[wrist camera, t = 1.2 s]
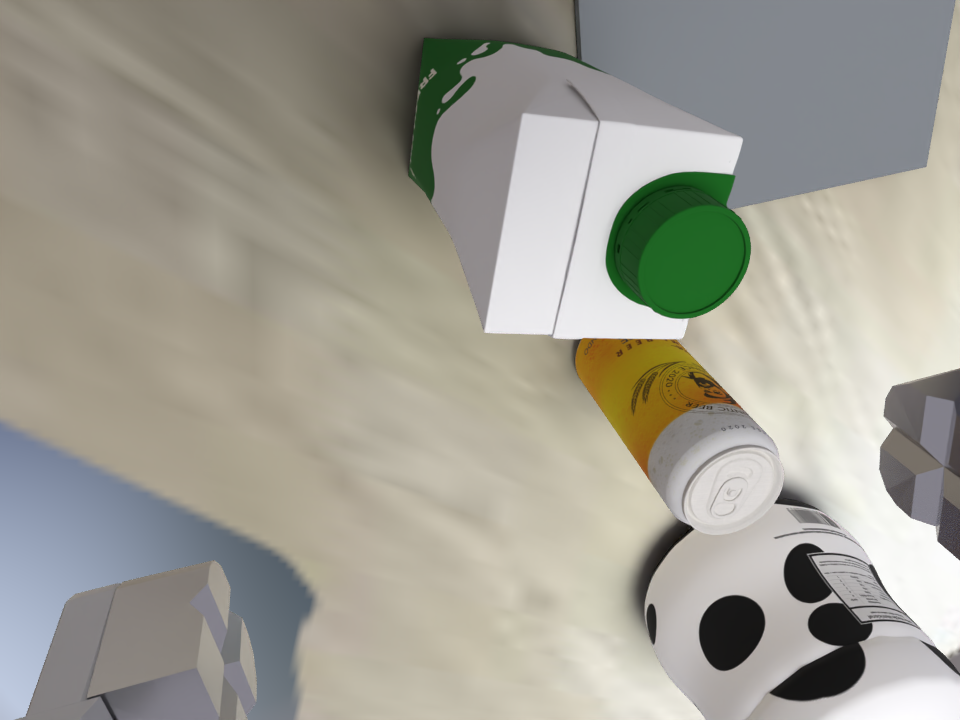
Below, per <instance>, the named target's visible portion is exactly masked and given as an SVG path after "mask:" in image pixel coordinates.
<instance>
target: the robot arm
mask: <svg viewBox="0 0 960 720" xmlns="http://www.w3.org/2000/svg"><path fill="white" fill-rule="evenodd" d="M884 417H885V418H886V420H887V421H888V422H889V423H890V425H891V426H892V427H893V429H892V431H891V432H890V434H889V435H888V437H887V438H886V439H885V441H884V442H883V444H882V445H881V447H880V467H879V470H880V473H881V476H882V479H883V482H884V485H885V488H886V490H887V492H888V493H889V495H890V496H891V498H892V499H893V501H894V502H895V504H896V505H897V506H898V507H899V508H900V509H901V510H903V511H904V512H905V513H906V514H907V515H908V516H909V517H910V518H912V519H915V520H918V521H921V522H924V523H927V524H930V525H933V526H936V533H937V541H938V542H939V543H940V544H941V545H942V546H944V547H945V548H946V549H947V550H948V551H949V552H951V553H952V554H953V555H954V556H955V557H956V558H958V559H959V560H960V368H959V369H955V370H952V371H948V372H944V373H940V374H936V375H933V376H929V377H925V378H921V379H917V380H914V381H910V382H906V383H902V384H898V385H895V386H892V388H891V390H890V392H889V393H888V395H887V397H886V400H885V409H884ZM229 601H230V586H229V583H228V581H227V579H226V577H225V574H224V572H223V569H222V567H221V565H220V564H218V563H217V562H216V561H214V560H213V561H209V562H205V563H201V564H196V565H192V566H188V567H184V568H179V569H175V570H171V571H167V572H163V573H158V574H154V575H150V576H145V577H141V578H137V579H133V580H129V581H124V582H122V584H113V585H109V586H105V587H101V588H97V589H93V590H89V591H85V592H81V593H78V594H75V595H74V596H72V597H71V598H70V599H69V600H68V601H67V602H66V604H65V605H64V608H63V611H62V614H61V617H60V620H59V623H58V626H57V629H56V631H55V634H54V637H53V640H52V643H51V645H50V648H49V651H48V654H47V657H46V660H45V662H44V665H43V668H42V671H41V674H40V677H39V680H38V683H37V685H36V688H35V691H34V694H33V697H32V700H31V702H30V705H29V708H28V711H27V714H26V717H23V718H19V719H16V720H248V719H247V717H246V716H247V715H248V713H249V712H250V710H251V709H252V708H253V706H254V705H255V704H256V685H257V683H256V682H257V680H256V671H255V663H254V655H253V651H252V647H251V643H250V639H249V636H248V632H247V630H246V627H245V624H244V621H243V619H242V617H240V616H238V615H236V614H235V613H233V612H231V611H229Z"/></svg>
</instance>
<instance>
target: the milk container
mask: <svg viewBox="0 0 960 720" xmlns="http://www.w3.org/2000/svg"><path fill="white" fill-rule="evenodd" d="M645 621H646V625H647V629H648V633H649V637H650V640H651V643H652V646H653V648H654V651H655V653H656V656H657V658H658V660H659V662H660V664H661V665H662V667H663V669H664V670H665V672H666V673H667V675H668V676H669V678H670V679H671V680H672V681H673V683H674V684H675V685H676V686H677V687H678V688H679V689H680V690H681V691H682V692H683V693H684V695H685V696H686V697H687V698H688V699H689V700H690V701H691V702H692V703H693V704H694V705H695V706H696V707H697V708H698V709H699V710H700V712H701V713H702V715H703V716H704V718H705V719H706V720H960V673H959V672H958V671H957V669H956V668H955V667H954V665H953V664H952V663H951V662H950V661H949V660H948V658H947V657H946V656H945V655H944V654H943V653H941V652H940V651H939V650H938V649H937V648H936V646H935V645H934V643H933V641H932V640H931V639H930V638H929V637H928V636H927V635H926V634H925V633H924V632H923V631H922V630H921V628H920V627H919V626H918V625H917V624H916V623H915V622H914V621H913V620H912V619H911V618H910V617H909V616H908V615H907V614H906V613H905V612H904V611H903V610H902V609H901V608H900V607H899V606H898V605H897V604H896V603H895V602H894V600H893V599H892V598H891V596H890V595H889V594H888V593H887V591H886V589H885V588H884V586H883V584H882V582H881V580H880V578H879V576H878V574H877V572H876V570H875V568H874V566H873V564H872V562H871V561H870V559H869V557H868V555H867V554H866V552H865V551H864V549H863V548H862V547H861V545H860V544H859V543H858V542H857V541H856V539H855V538H854V537H853V536H852V535H851V534H850V533H849V532H848V531H847V530H845V529H844V528H843V527H842V526H841V525H840V524H838V523H837V522H836V521H835V520H833V519H832V518H830V517H829V516H828V515H826V514H825V513H823V512H821V511H820V510H818V509H817V508H815V507H813V506H811V505H808V504H805V503H802V502H799V501H796V500H790V499H778V498H777V500H776V501H775V503H774V504H773V505H772V507H771V508H770V509H769V510H768V511H767V512H766V513H765V514H764V515H763V516H762V517H761V518H759V519H758V520H757V521H755V522H754V523H752V524H751V525H749V526H747V527H745V528H743V529H741V530H738V531H736V532H732V533H728V534H722V535H710V534H705V533H702V532H700V531H698V530H696V529H695V528H692V529H691V530H690V531H689V532H687V533H686V534H685V535H684V536H683V537H682V538H680V539H679V540H678V541H677V542H676V543H675V544H674V545H673V546H672V547H671V548H670V549H669V551H668V552H667V553H666V554H665V556H664V557H663V559H662V560H661V562H660V563H659V565H658V566H657V567H656V569H655V571H654V573H653V574H652V577H651V579H650V582H649V586H648V589H647V593H646V598H645Z"/></svg>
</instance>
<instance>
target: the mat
mask: <svg viewBox="0 0 960 720" xmlns="http://www.w3.org/2000/svg"><path fill="white" fill-rule="evenodd" d="M954 6H955V0H575V16H576V34H577V53H578V59H579V60H581V61H583V62H585V63H587V64H589V65H591V66H593V67H595V68H597V69H599V70H601V71H603V72H605V73H608V74H610V75H612V76H614V77H616V78H618V79H620V80H622V81H624V82H626V83H628V84H630V85H632V86H634V87H636V88H638V89H640V90H642V91H643V92H645V93H647V94H649V95H651V96H653V97H655V98H657V99H659V100H662V101H664V102H666V103H668V104H670V105H672V106H674V107H676V108H679V109H681V110H683V111H685V112H687V113H689V114H691V115H694V116H696V117H698V118H700V119H702V120H704V121H706V122H709V123H711V124H713V125H715V126H717V127H719V128H722V129H724V130H726V131H728V132H731V133H733V134H736V135H738V136H740V137H741V138H742V139H743V142H742V146H741V150H740V153H739V156H738V159H737V162H736V165H735V168H734V171H733V174H732V175H735V176H736V177H735V180H734V184H733V187H732V190H731V193H730V196H729V198H728V201H727V207H728V208H729V209H735V208H739V207H744V206H749V205H753V204H758V203H762V202H767V201H772V200H776V199H781V198H785V197H790V196H795V195H799V194H804V193H808V192H813V191H818V190H822V189H827V188H831V187H836V186H841V185H845V184H850V183H854V182H859V181H864V180H868V179H873V178H877V177H882V176H887V175H891V174H896V173H900V172H905V171H910V170H914V169H919V168H924V167H926V166H927V160H928V154H929V149H930V143H931V137H932V131H933V126H934V120H935V114H936V109H937V103H938V97H939V91H940V86H941V80H942V74H943V69H944V63H945V57H946V51H947V46H948V40H949V34H950V29H951V23H952V17H953V11H954Z"/></svg>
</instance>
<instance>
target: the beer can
mask: <svg viewBox="0 0 960 720" xmlns="http://www.w3.org/2000/svg"><path fill="white" fill-rule="evenodd" d="M575 365H576V370H577V374H578V376H579V378H580V379H581V381H582V382H583V384H584V385H585V387H586V388H587V390H588V391H589V393H590V394H591V396H592V397H593V398H594V400H595V401H596V403H597V404H598V406H599V407H600V409H601V410H602V412H603V413H604V414H605V416H606V417H607V419H608V420H609V422H610V423H611V425H612V426H613V428H614V429H615V431H616V432H617V433H618V435H619V436H620V438H621V439H622V441H623V442H624V444H625V445H626V447H627V448H628V450H629V451H630V452H631V454H632V455H633V457H634V458H635V460H636V461H637V463H638V464H639V466H640V467H641V468H642V470H643V471H644V473H645V474H646V476H647V477H648V479H649V480H650V482H651V483H652V485H653V486H654V487H655V489H656V490H657V492H658V493H659V495H660V496H661V498H662V499H663V501H664V502H665V503H666V505H667V506H668V508H669V509H670V511H671V512H672V514H673V515H674V516H675V517H676V518H677V519H679V520H680V521H682V522H684V523H686V524H689V525H691V526H692V527H693V528H695V529H696V530H698V531H700V532H702V533H705V534H710V535H722V534H728V533H732V532H736V531H738V530H741V529H743V528H745V527H747V526H749V525H751V524H752V523H754V522H755V521H757V520H758V519H759V518H761V517H762V516H763V515H764V514H765V513H766V512H767V511H768V510H769V509H770V508H771V507H772V505H773V504H774V503H775V501H776V500H777V498H778V496H779V494H780V492H781V490H782V487H783V483H784V469H783V466H782V463H781V461H780V459H779V454H778V450H777V447H776V445H775V443H774V441H773V440H772V439H771V438H770V437H769V436H768V435H767V433H766V432H765V431H764V430H763V429H762V428H761V427H760V426H759V425H758V424H757V423H756V422H755V421H754V420H753V419H752V418H751V417H750V416H749V415H748V414H747V413H746V412H745V411H744V410H743V409H742V408H741V406H740V405H739V404H738V403H737V402H736V401H735V400H734V399H733V398H732V397H731V396H730V395H729V394H728V393H727V392H726V391H725V390H724V389H723V388H722V387H721V386H720V385H719V384H718V383H717V382H716V381H715V380H714V378H713V377H712V376H711V375H710V374H709V373H708V372H707V371H706V370H705V369H704V368H703V367H702V366H701V365H700V364H699V363H698V362H697V361H696V360H695V359H694V358H693V357H692V356H691V355H690V354H689V353H688V351H687V350H686V349H685V348H684V347H683V346H682V345H681V344H680V343H679V342H678V341H677V340H676V339H611V338H582V339H581V341H580V343H579V345H578V348H577V352H576V358H575Z"/></svg>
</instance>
